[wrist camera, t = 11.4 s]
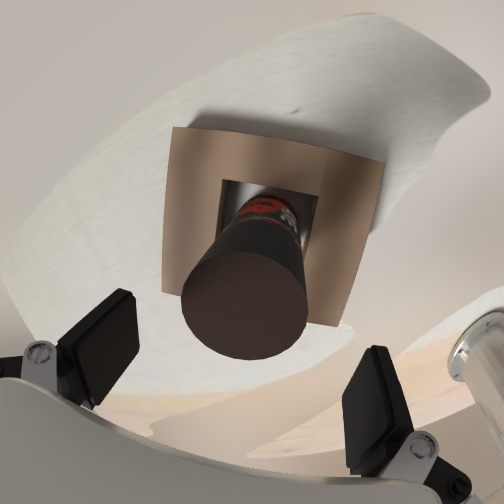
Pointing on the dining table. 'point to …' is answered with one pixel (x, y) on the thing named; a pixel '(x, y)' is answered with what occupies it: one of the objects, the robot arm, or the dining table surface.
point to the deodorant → (250, 284)
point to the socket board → (279, 176)
